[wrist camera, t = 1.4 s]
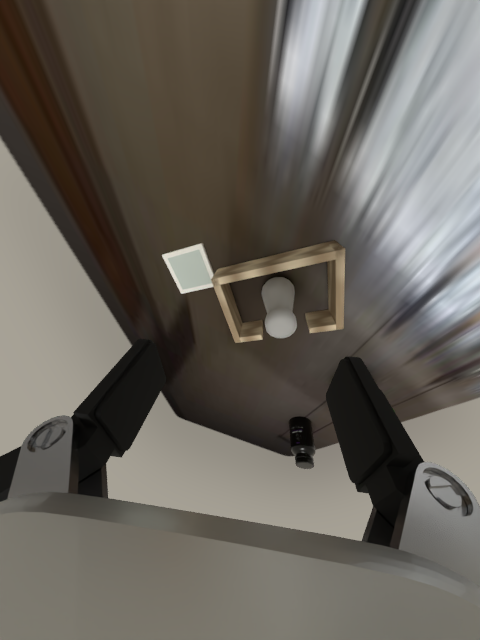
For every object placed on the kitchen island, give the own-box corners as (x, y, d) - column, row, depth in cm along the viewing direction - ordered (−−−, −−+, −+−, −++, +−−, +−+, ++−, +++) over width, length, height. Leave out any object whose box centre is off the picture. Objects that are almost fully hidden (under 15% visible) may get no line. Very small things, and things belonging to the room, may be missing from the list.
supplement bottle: (295, 413, 59) (300, 458, 49) (314, 420, 60) (323, 465, 50) (285, 423, 63) (288, 466, 53) (303, 429, 64) (309, 472, 54)
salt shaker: (278, 305, 38) (281, 351, 27) (255, 289, 36) (250, 331, 26) (300, 284, 34) (313, 327, 24) (276, 265, 33) (279, 302, 23)
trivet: (202, 242, 32) (201, 243, 32) (218, 284, 37) (217, 286, 36) (163, 254, 34) (161, 255, 34) (182, 292, 39) (181, 294, 38)
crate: (334, 240, 30) (345, 248, 26) (335, 313, 37) (343, 328, 33) (217, 268, 35) (210, 279, 31) (238, 327, 42) (235, 342, 38)
